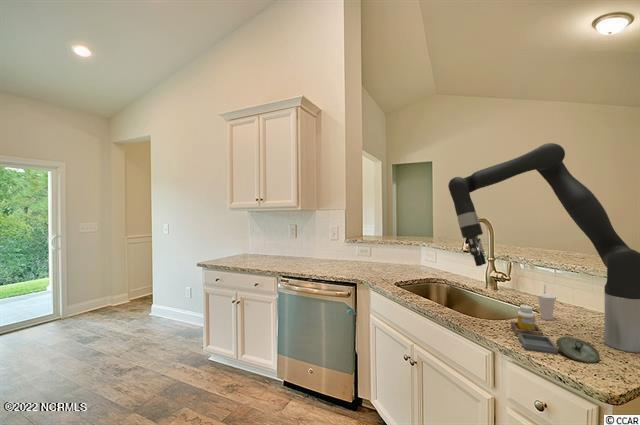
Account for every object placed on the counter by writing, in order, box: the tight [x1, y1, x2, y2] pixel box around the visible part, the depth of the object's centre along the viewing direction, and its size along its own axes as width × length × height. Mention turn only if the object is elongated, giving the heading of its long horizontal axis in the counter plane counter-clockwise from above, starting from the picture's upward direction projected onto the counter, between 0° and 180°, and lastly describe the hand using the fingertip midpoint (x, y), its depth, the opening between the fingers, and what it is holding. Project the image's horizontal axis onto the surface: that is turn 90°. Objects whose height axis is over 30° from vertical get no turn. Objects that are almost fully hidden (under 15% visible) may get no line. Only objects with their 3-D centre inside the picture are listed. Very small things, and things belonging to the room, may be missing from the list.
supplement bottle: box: [517, 304, 536, 331], centre depth 112 cm, size 5×5×10 cm
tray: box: [518, 333, 559, 355], centre depth 101 cm, size 9×9×2 cm
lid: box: [556, 336, 601, 364], centre depth 94 cm, size 11×10×5 cm
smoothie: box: [536, 284, 557, 321], centre depth 125 cm, size 6×6×14 cm
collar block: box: [510, 321, 544, 336], centre depth 112 cm, size 8×8×2 cm
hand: (481, 265), depth 116 cm, fingers open, 8 cm apart
